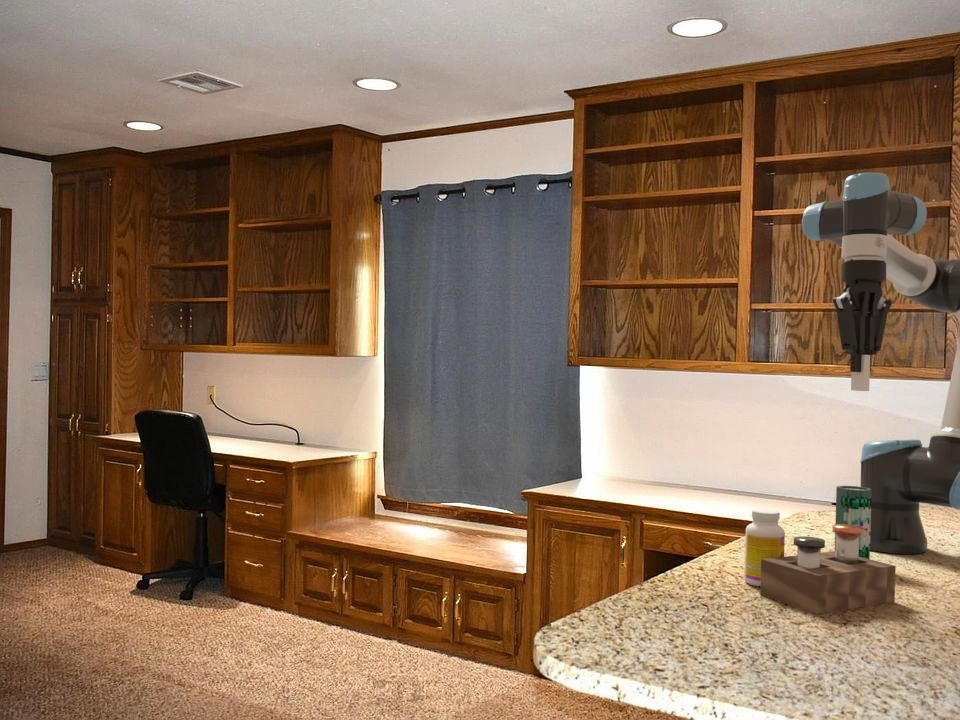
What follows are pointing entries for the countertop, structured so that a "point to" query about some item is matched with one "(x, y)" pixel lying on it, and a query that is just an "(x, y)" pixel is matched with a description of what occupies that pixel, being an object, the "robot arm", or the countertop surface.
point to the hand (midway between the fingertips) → (860, 390)
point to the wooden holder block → (828, 583)
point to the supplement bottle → (762, 542)
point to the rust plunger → (847, 543)
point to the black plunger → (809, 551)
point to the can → (855, 513)
